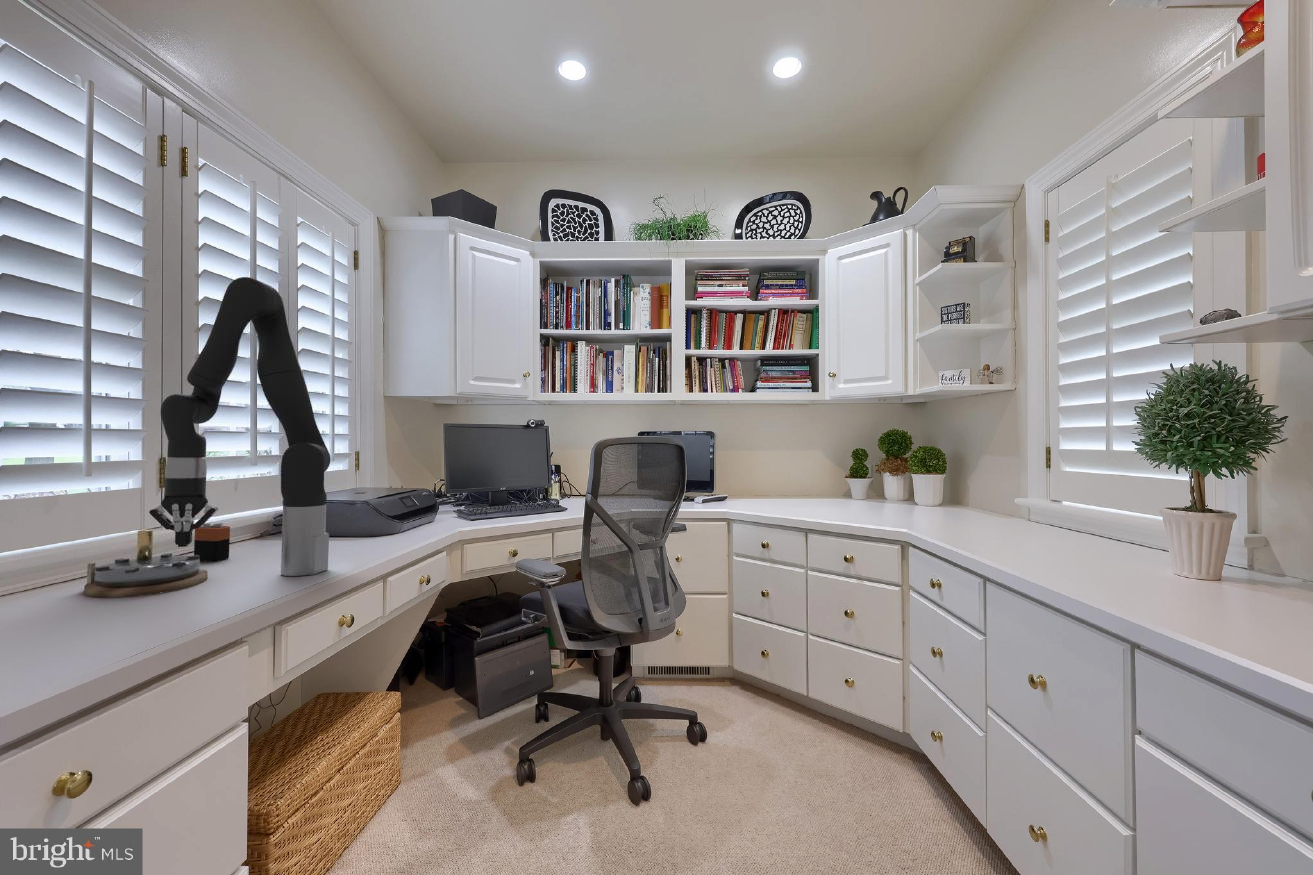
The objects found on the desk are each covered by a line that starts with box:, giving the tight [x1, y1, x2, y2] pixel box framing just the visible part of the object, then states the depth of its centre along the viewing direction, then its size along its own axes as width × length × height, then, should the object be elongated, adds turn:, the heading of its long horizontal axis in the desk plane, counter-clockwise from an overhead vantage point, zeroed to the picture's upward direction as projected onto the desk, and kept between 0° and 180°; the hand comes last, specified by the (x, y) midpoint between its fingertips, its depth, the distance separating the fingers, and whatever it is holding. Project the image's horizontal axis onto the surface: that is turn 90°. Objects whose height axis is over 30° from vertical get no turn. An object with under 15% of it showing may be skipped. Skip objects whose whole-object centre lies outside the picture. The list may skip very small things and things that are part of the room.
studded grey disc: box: [95, 529, 201, 587], centre depth 118 cm, size 17×17×10 cm
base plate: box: [83, 562, 209, 599], centre depth 118 cm, size 20×20×6 cm
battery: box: [193, 522, 231, 563], centre depth 142 cm, size 4×7×10 cm, turn 85°
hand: (183, 546), depth 126 cm, fingers closed
